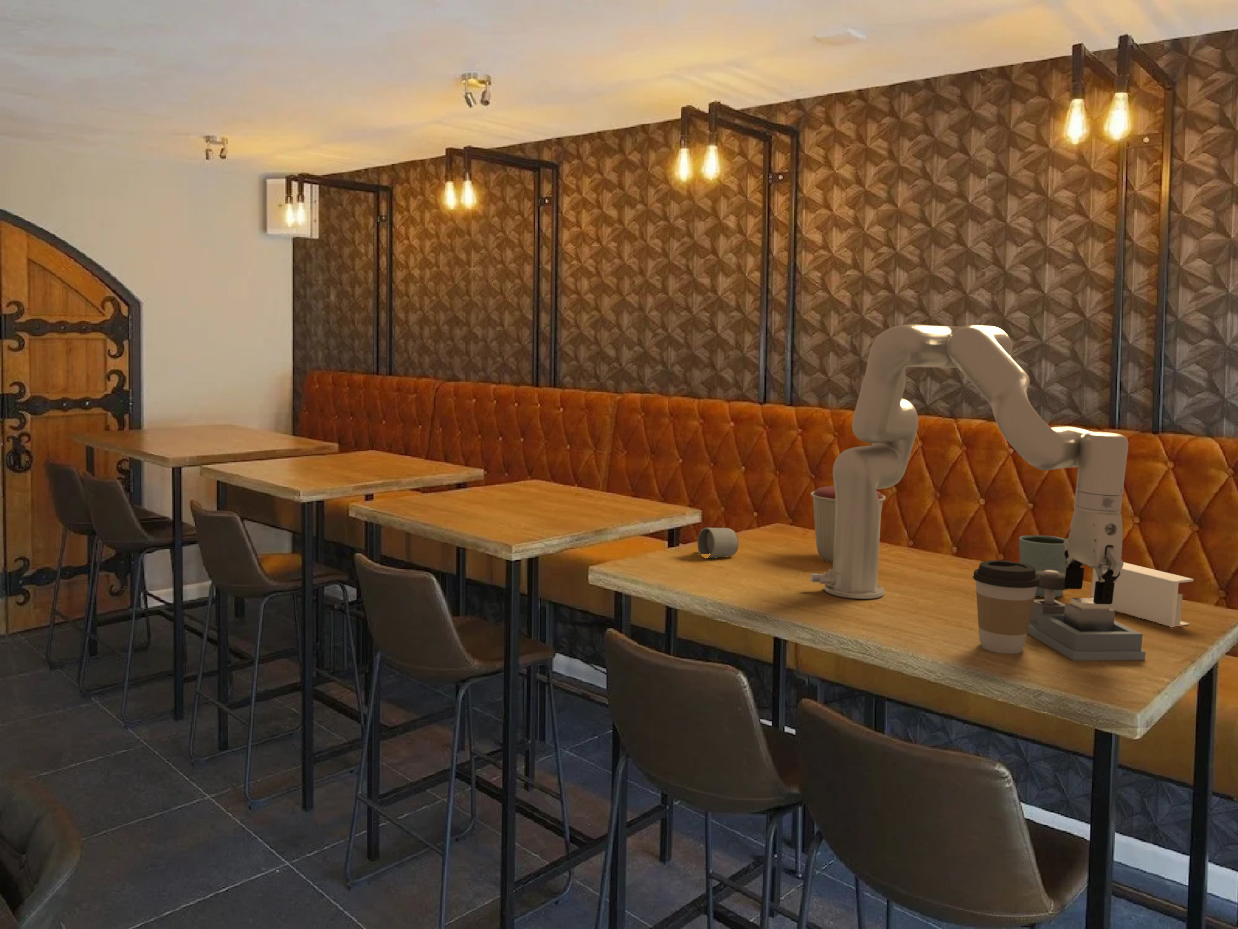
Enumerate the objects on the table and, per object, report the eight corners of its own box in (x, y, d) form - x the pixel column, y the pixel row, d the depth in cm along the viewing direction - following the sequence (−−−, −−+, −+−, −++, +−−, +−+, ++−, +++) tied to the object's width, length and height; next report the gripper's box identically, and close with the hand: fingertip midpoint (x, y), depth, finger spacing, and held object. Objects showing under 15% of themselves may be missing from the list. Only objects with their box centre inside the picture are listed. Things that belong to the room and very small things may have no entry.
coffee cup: (1019, 639, 186) (1025, 559, 184) (1047, 658, 175) (1053, 573, 173) (958, 638, 186) (963, 558, 184) (982, 657, 175) (988, 572, 173)
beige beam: (1190, 626, 198) (1194, 579, 197) (1170, 628, 196) (1175, 581, 195) (1103, 601, 216) (1107, 558, 215) (1085, 603, 214) (1088, 560, 213)
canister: (793, 555, 256) (797, 472, 253) (853, 550, 263) (857, 470, 260) (835, 570, 239) (839, 482, 236) (897, 565, 246) (902, 480, 243)
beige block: (1112, 643, 179) (1115, 604, 178) (1077, 643, 179) (1080, 604, 178) (1096, 635, 184) (1099, 597, 183) (1062, 635, 184) (1065, 597, 183)
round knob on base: (1041, 611, 188) (1043, 575, 187) (1024, 602, 194) (1026, 567, 193) (1073, 611, 188) (1076, 575, 187) (1056, 602, 195) (1059, 567, 194)
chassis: (1073, 660, 174) (1075, 629, 173) (1013, 624, 196) (1014, 596, 195) (1144, 660, 175) (1147, 629, 175) (1077, 624, 197) (1079, 596, 196)
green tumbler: (1070, 599, 216) (1074, 544, 215) (1020, 596, 218) (1024, 542, 217) (1059, 588, 226) (1063, 536, 225) (1011, 585, 228) (1015, 533, 227)
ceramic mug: (740, 558, 250) (741, 528, 249) (713, 561, 246) (714, 530, 245) (715, 551, 259) (716, 521, 258) (689, 554, 255) (689, 524, 254)
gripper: (1147, 512, 170) (1135, 610, 173) (1091, 494, 187) (1081, 583, 190) (1105, 511, 170) (1093, 609, 172) (1052, 493, 187) (1043, 583, 189)
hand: (1087, 596), depth 181 cm, fingers open, 9 cm apart
